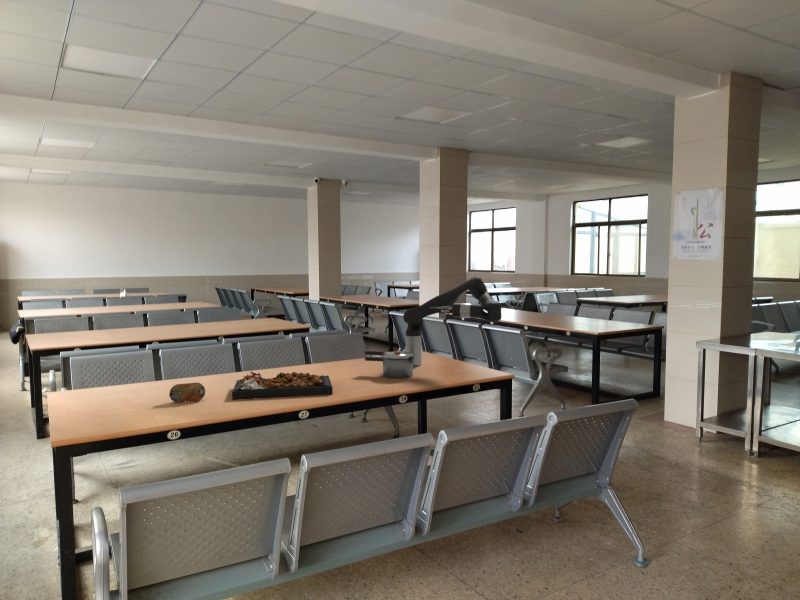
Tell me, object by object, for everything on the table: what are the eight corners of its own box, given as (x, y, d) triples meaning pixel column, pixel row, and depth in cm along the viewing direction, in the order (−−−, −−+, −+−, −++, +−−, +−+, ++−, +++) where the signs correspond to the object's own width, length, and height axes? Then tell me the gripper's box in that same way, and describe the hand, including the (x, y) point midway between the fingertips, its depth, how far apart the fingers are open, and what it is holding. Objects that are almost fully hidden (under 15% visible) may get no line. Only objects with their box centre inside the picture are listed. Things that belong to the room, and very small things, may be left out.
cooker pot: (417, 373, 314) (417, 355, 313) (409, 379, 299) (409, 360, 298) (371, 370, 322) (370, 353, 321) (361, 376, 306) (360, 358, 306)
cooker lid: (418, 355, 313) (418, 349, 313) (409, 360, 298) (409, 354, 297) (371, 353, 321) (371, 347, 321) (360, 358, 305) (360, 352, 305)
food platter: (232, 401, 259) (231, 378, 259) (237, 389, 284) (236, 368, 283) (332, 395, 268) (332, 373, 267) (328, 384, 292) (328, 364, 291)
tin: (169, 403, 254) (168, 385, 253) (170, 402, 257) (169, 383, 256) (205, 401, 258) (204, 382, 258) (205, 399, 261) (205, 381, 261)
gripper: (464, 302, 302) (432, 301, 307) (459, 304, 289) (426, 303, 294) (464, 316, 303) (432, 315, 308) (459, 319, 290) (426, 317, 295)
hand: (429, 309), depth 301 cm, fingers closed
